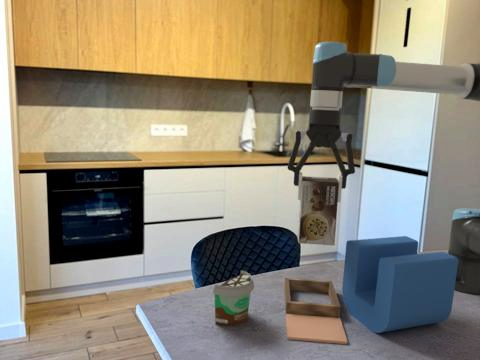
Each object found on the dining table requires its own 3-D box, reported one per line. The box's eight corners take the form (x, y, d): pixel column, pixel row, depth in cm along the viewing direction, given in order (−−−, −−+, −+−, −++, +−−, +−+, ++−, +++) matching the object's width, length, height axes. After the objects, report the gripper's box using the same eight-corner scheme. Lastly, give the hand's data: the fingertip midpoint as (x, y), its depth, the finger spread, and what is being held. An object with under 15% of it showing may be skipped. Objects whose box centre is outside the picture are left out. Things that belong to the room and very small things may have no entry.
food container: (234, 334, 101) (236, 292, 100) (211, 326, 104) (213, 285, 103) (261, 314, 112) (264, 275, 110) (240, 307, 115) (242, 269, 113)
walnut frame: (331, 291, 127) (332, 281, 127) (339, 318, 111) (340, 306, 111) (284, 287, 128) (284, 277, 127) (285, 314, 112) (286, 302, 112)
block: (340, 307, 118) (346, 239, 115) (396, 299, 124) (404, 235, 121) (386, 342, 101) (395, 265, 98) (448, 331, 108) (458, 258, 105)
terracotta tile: (340, 320, 110) (340, 318, 110) (347, 344, 100) (347, 341, 100) (285, 316, 111) (286, 313, 111) (287, 339, 100) (287, 336, 100)
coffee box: (332, 238, 119) (337, 177, 117) (334, 246, 113) (340, 182, 110) (297, 236, 120) (301, 175, 117) (297, 243, 114) (302, 179, 111)
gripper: (368, 110, 114) (359, 199, 118) (280, 106, 115) (274, 194, 119) (374, 111, 106) (365, 205, 110) (280, 107, 108) (274, 200, 112)
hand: (318, 199), depth 115 cm, fingers closed on coffee box, 9 cm apart
